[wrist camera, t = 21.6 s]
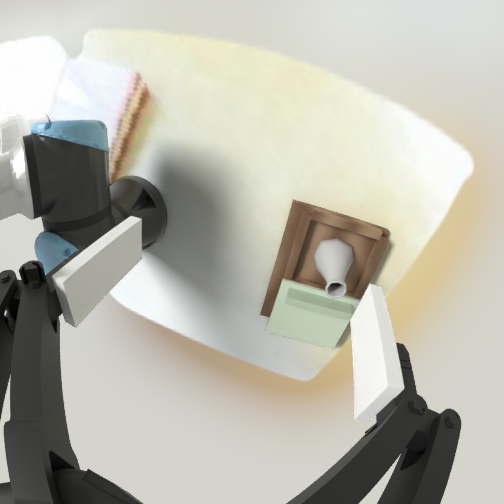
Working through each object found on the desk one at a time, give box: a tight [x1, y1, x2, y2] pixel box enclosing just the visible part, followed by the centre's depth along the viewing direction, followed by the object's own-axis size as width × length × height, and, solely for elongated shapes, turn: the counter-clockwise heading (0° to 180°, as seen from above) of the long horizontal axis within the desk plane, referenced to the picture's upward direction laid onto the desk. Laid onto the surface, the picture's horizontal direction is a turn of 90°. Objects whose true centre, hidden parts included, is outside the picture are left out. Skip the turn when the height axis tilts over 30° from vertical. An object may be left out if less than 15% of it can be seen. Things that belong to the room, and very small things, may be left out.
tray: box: [260, 200, 389, 317], centre depth 50 cm, size 17×25×2 cm
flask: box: [313, 238, 354, 299], centre depth 43 cm, size 7×7×10 cm
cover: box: [266, 279, 360, 349], centre depth 51 cm, size 15×14×4 cm
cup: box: [0, 112, 49, 154], centre depth 41 cm, size 11×11×15 cm
